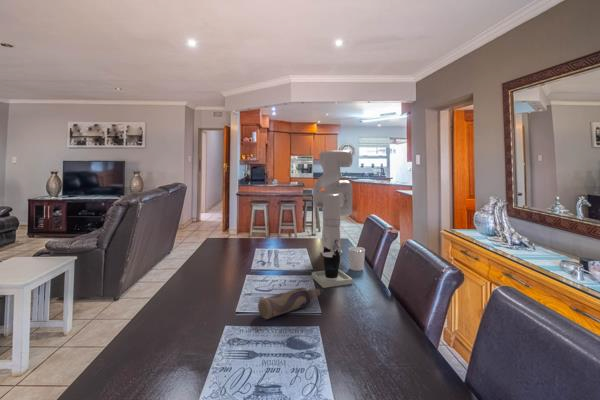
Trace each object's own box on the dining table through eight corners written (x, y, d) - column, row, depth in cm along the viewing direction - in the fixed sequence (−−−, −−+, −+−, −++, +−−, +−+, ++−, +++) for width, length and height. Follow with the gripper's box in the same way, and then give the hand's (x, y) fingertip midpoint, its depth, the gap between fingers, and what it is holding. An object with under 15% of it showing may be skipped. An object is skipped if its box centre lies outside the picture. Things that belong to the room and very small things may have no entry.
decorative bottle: (268, 324, 93) (268, 304, 92) (257, 315, 99) (256, 296, 98) (329, 302, 108) (329, 284, 108) (316, 295, 114) (316, 278, 114)
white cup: (363, 266, 148) (363, 246, 147) (365, 271, 141) (365, 251, 140) (347, 265, 149) (348, 246, 148) (349, 271, 141) (349, 250, 140)
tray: (311, 276, 134) (311, 272, 134) (338, 273, 138) (338, 269, 138) (323, 287, 121) (323, 282, 121) (352, 283, 126) (352, 278, 125)
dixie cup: (327, 282, 125) (327, 257, 124) (319, 277, 132) (319, 253, 131) (344, 280, 128) (343, 255, 127) (335, 274, 135) (334, 251, 134)
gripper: (316, 219, 135) (316, 255, 137) (331, 226, 118) (331, 267, 120) (331, 217, 137) (331, 253, 139) (348, 225, 121) (348, 265, 123)
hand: (331, 260), depth 130 cm, fingers open, 9 cm apart
